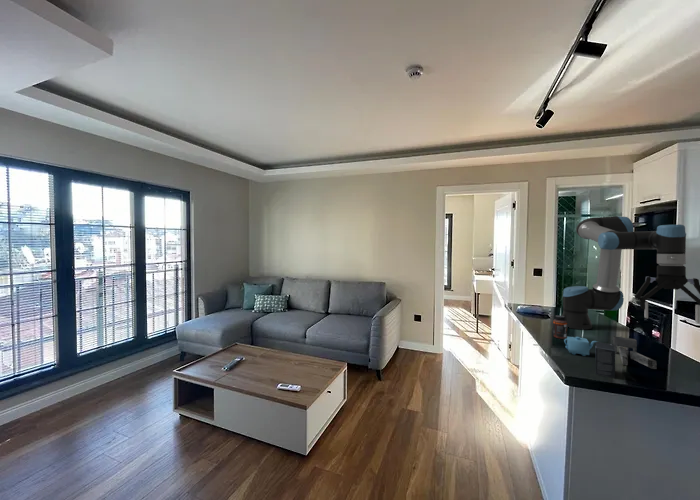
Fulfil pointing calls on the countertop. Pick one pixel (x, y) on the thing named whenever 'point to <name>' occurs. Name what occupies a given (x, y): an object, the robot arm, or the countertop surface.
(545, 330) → the countertop surface
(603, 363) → the box
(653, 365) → the tongs jaw
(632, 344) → the collar
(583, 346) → the blue teapot
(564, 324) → the supplement bottle
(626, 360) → the tongs fixed
